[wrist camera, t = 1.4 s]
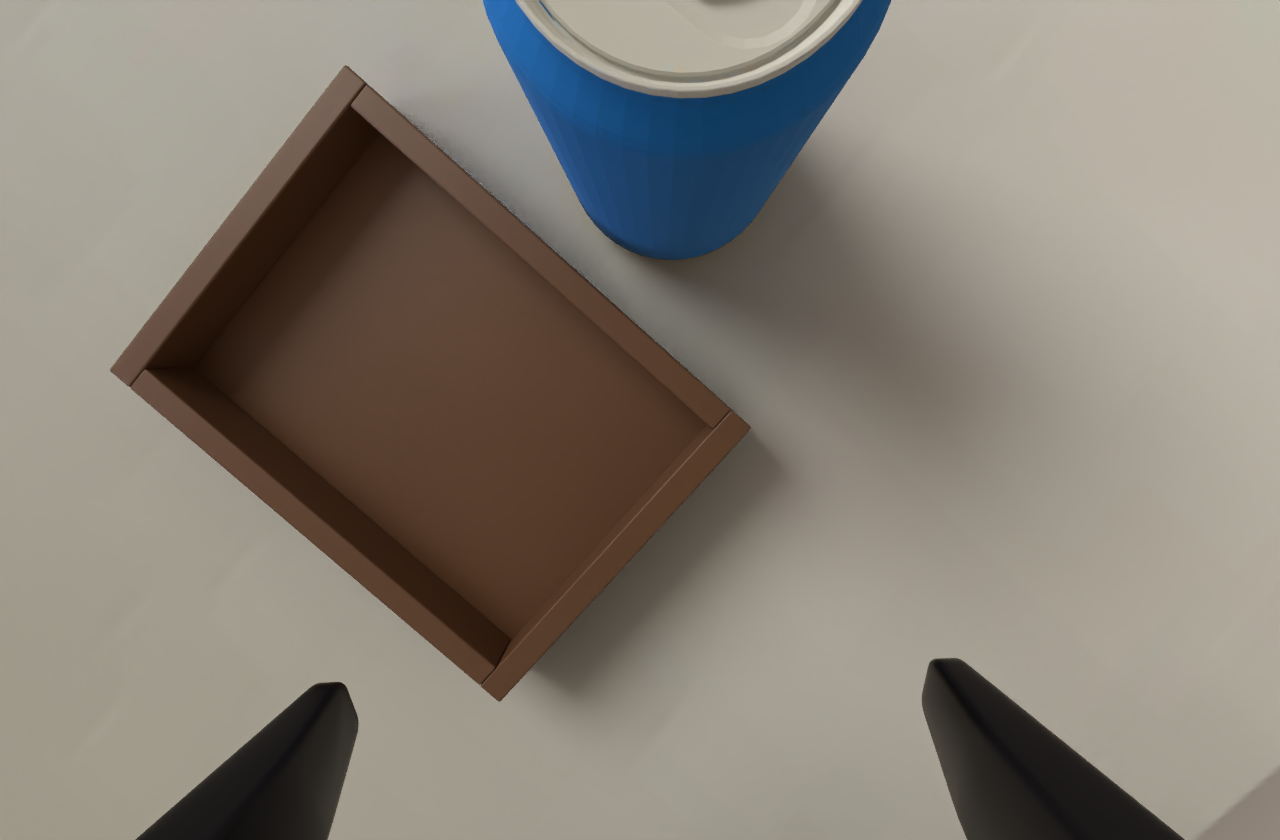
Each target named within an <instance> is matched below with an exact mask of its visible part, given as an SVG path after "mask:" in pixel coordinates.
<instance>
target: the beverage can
mask: <svg viewBox="0 0 1280 840" xmlns="http://www.w3.org/2000/svg"><path fill="white" fill-rule="evenodd" d="M890 2H891V0H483V3H484V6H485V10H486V13H487V16H488V19H489V21H490V23H491V26H492V28H493V30H494V33H495V35H496V37H497V40H498V42H499V44H500V46H501V48H502V50H503V52H504V54H505V56H506V58H507V60H508V62H509V64H510V65H511V67H512V69H513V71H514V73H515V75H516V77H517V79H518V81H519V83H520V85H521V87H522V89H523V91H524V93H525V95H526V97H527V99H528V101H529V103H530V105H531V107H532V109H533V111H534V113H535V115H536V117H537V118H538V120H539V122H540V124H541V126H542V128H543V130H544V132H545V134H546V136H547V138H548V140H549V142H550V144H551V146H552V148H553V150H554V152H555V154H556V156H557V158H558V160H559V162H560V164H561V166H562V168H563V170H564V171H565V173H566V175H567V177H568V179H569V181H570V183H571V185H572V187H573V189H574V191H575V193H576V195H577V197H578V199H579V201H580V203H581V205H582V206H583V208H584V210H585V211H586V213H587V215H588V216H589V217H590V219H591V220H592V221H593V222H594V224H595V225H596V226H597V227H598V228H599V229H600V230H601V231H602V232H603V233H604V234H605V235H606V236H607V237H609V238H610V239H611V240H613V241H614V242H615V243H617V244H619V245H620V246H622V247H624V248H626V249H627V250H630V251H632V252H635V253H637V254H640V255H643V256H647V257H651V258H656V259H665V260H677V259H686V258H693V257H697V256H700V255H703V254H707V253H709V252H711V251H714V250H716V249H718V248H720V247H722V246H723V245H725V244H727V243H728V242H730V241H731V240H733V239H734V238H735V237H736V236H738V235H739V234H740V233H741V232H742V231H743V230H744V229H745V228H746V227H747V226H748V225H749V224H750V223H751V222H752V220H753V219H754V218H755V216H756V215H757V214H758V212H759V211H760V210H761V208H762V207H763V205H764V204H765V202H766V201H767V199H768V198H769V196H770V195H771V193H772V192H773V190H774V189H775V187H776V186H777V184H778V183H779V181H780V180H781V178H782V177H783V176H784V174H785V173H786V171H787V170H788V168H789V167H790V165H791V164H792V162H793V161H794V159H795V158H796V156H797V155H798V153H799V152H800V150H801V149H802V147H803V146H804V144H805V143H806V142H807V140H808V139H809V137H810V136H811V134H812V133H813V131H814V130H815V128H816V127H817V125H818V124H819V122H820V121H821V119H822V118H823V116H824V115H825V113H826V112H827V110H828V109H829V107H830V106H831V105H832V103H833V102H834V100H835V99H836V97H837V96H838V94H839V93H840V91H841V90H842V88H843V87H844V85H845V84H846V82H847V81H848V79H849V78H850V76H851V75H852V73H853V72H854V71H855V69H856V68H857V66H858V65H859V63H860V62H861V60H862V59H863V57H864V56H865V54H866V52H867V50H868V49H869V47H870V45H871V43H872V42H873V40H874V38H875V36H876V35H877V33H878V31H879V29H880V27H881V24H882V22H883V19H884V17H885V15H886V12H887V10H888V7H889V5H890Z"/></svg>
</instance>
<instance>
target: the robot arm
mask: <svg viewBox="0 0 1280 840" xmlns="http://www.w3.org/2000/svg"><path fill="white" fill-rule="evenodd" d="M922 706H923V711H924V715H925V718H926V721H927V724H928V727H929V730H930V733H931V736H932V739H933V742H934V745H935V749H936V752H937V755H938V758H939V761H940V764H941V767H942V770H943V773H944V776H945V779H946V782H947V786H948V789H949V792H950V795H951V798H952V801H953V804H954V807H955V810H956V812H957V815H958V818H959V821H960V823H961V825H962V828H963V830H964V833H965V835H966V838H967V840H1185V839H1183V838H1182V837H1181V836H1180V835H1179V834H1177V833H1176V832H1175V831H1174V830H1172V829H1171V828H1170V827H1169V826H1167V825H1166V824H1165V823H1164V822H1162V821H1161V820H1160V819H1159V818H1157V817H1156V816H1155V815H1154V814H1152V813H1151V812H1150V811H1149V810H1148V809H1146V808H1145V807H1144V806H1143V805H1141V804H1140V803H1139V802H1138V801H1136V800H1135V799H1134V798H1133V797H1131V796H1130V795H1129V794H1128V793H1126V792H1125V791H1124V790H1123V789H1122V788H1120V787H1119V786H1118V785H1117V784H1115V783H1114V782H1113V781H1112V780H1110V779H1109V778H1108V777H1107V776H1105V775H1104V774H1103V773H1102V772H1100V771H1099V770H1098V769H1097V768H1095V767H1094V766H1093V765H1092V764H1091V763H1089V762H1088V761H1087V760H1086V759H1084V758H1083V757H1082V756H1081V755H1079V754H1078V753H1077V752H1076V751H1074V750H1073V749H1072V748H1071V747H1069V746H1068V745H1067V744H1066V743H1064V742H1063V741H1062V740H1061V739H1060V738H1058V737H1057V736H1056V735H1055V734H1053V733H1052V732H1051V731H1050V730H1048V729H1047V728H1046V727H1045V726H1043V725H1042V724H1041V723H1040V722H1038V721H1037V720H1036V719H1035V718H1034V717H1032V716H1031V715H1030V714H1029V713H1027V712H1026V711H1025V710H1024V709H1022V708H1021V707H1020V706H1019V705H1017V704H1016V703H1015V702H1014V701H1012V700H1011V699H1010V698H1009V697H1007V696H1006V695H1005V694H1004V693H1003V692H1001V691H1000V690H999V689H998V688H996V687H995V686H994V685H993V684H991V683H990V682H989V681H988V680H986V679H985V678H984V677H983V676H981V675H980V674H979V673H978V672H976V671H975V670H974V669H973V668H972V667H970V666H969V665H968V664H967V663H965V662H964V661H962V660H960V659H958V658H940V659H933V660H932V661H931V662H930V663H929V666H928V670H927V675H926V679H925V684H924V688H923V693H922ZM357 732H358V717H357V713H356V711H355V708H354V706H353V703H352V700H351V698H350V695H349V692H348V690H347V687H346V686H345V685H344V684H343V683H341V682H329V683H318V684H315V685H313V686H312V687H310V688H309V689H308V690H307V691H306V692H305V693H303V694H302V695H301V696H300V697H299V698H298V699H297V700H295V701H294V702H293V703H292V704H291V705H290V706H288V707H287V708H286V709H285V710H284V711H283V712H282V713H280V714H279V715H278V716H277V717H276V718H275V719H274V720H272V721H271V722H270V723H269V724H268V725H267V726H265V727H264V728H263V729H262V730H261V731H260V732H259V733H257V734H256V735H255V736H254V737H253V738H252V739H251V740H249V741H248V742H247V743H246V744H245V745H244V746H243V747H241V748H240V749H239V750H238V751H237V752H236V753H234V754H233V755H232V756H231V757H230V758H229V759H228V760H226V761H225V762H224V763H223V764H222V765H221V766H220V767H218V768H217V769H216V770H215V771H214V772H213V773H211V774H210V775H209V776H208V777H207V778H206V779H205V780H203V781H202V782H201V783H200V784H199V785H198V786H197V787H195V788H194V789H193V790H192V791H191V792H190V793H188V794H187V795H186V796H185V797H184V798H183V799H182V800H180V801H179V802H178V803H177V804H176V805H175V806H174V807H172V808H171V809H170V810H169V811H168V812H167V813H165V814H164V815H163V816H162V817H161V818H160V819H159V820H157V821H156V822H155V823H154V824H153V825H152V826H151V827H149V828H148V829H147V830H146V831H145V832H144V833H142V834H141V835H140V836H139V837H138V838H137V839H136V840H327V839H328V836H329V833H330V829H331V826H332V823H333V819H334V816H335V812H336V808H337V805H338V801H339V798H340V794H341V790H342V787H343V783H344V780H345V776H346V772H347V769H348V765H349V761H350V758H351V754H352V751H353V747H354V743H355V740H356V736H357Z"/></svg>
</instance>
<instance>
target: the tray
mask: <svg viewBox="0 0 1280 840" xmlns="http://www.w3.org/2000/svg"><path fill="white" fill-rule="evenodd" d="M110 371H111V372H112V373H113V374H114V375H116V376H117V377H118V378H119V379H120V380H121V381H123V382H124V383H125V384H126V385H127V386H129V387H131V389H132V390H133V391H134V392H135V393H137V394H138V395H139V396H140V397H141V398H142V399H144V400H145V401H146V402H147V403H148V404H150V405H151V406H152V407H153V408H154V409H155V410H157V411H158V412H159V413H160V414H161V415H162V416H164V417H165V418H166V419H167V420H168V421H170V422H171V423H172V424H173V425H174V426H175V427H177V428H178V429H179V430H180V431H181V432H183V433H184V434H185V435H186V436H187V437H188V438H190V439H191V440H192V441H193V442H194V443H195V444H197V445H198V446H199V447H200V448H201V449H203V450H204V451H205V452H206V453H207V454H208V455H210V456H211V457H212V458H213V459H214V460H215V461H217V462H218V463H219V464H220V465H221V466H223V467H224V468H225V469H226V470H227V471H228V472H230V473H231V474H232V475H233V476H234V477H235V478H237V479H238V480H239V481H240V482H241V483H243V484H244V485H245V486H246V487H247V488H248V489H250V490H251V491H252V492H253V493H254V494H255V495H257V496H258V497H259V498H260V499H261V500H263V501H264V502H265V503H266V504H267V505H268V506H270V507H271V508H272V509H273V510H274V511H275V512H277V513H278V514H279V515H280V516H281V517H283V518H284V519H285V520H286V521H287V522H288V523H290V524H291V525H292V526H293V527H294V528H295V529H297V530H298V531H299V532H300V533H301V534H303V535H304V536H305V537H306V538H307V539H308V540H310V541H311V542H312V543H313V544H314V545H315V546H317V547H318V548H319V549H320V550H321V551H323V552H324V553H325V554H326V555H327V556H328V557H330V558H331V559H332V560H333V561H334V562H335V563H337V564H338V565H339V566H340V567H341V568H343V569H344V570H345V571H346V572H347V573H348V574H350V575H351V576H352V577H353V578H354V579H355V580H357V581H358V582H359V583H360V584H361V585H363V586H364V587H365V588H366V589H367V590H368V591H370V592H371V593H372V594H373V595H374V596H375V597H377V598H378V599H379V600H380V601H381V602H383V603H384V604H385V605H386V606H387V607H388V608H390V609H391V610H392V611H393V612H394V613H395V614H397V615H398V616H399V617H400V618H401V619H403V620H404V621H405V622H406V623H407V624H408V625H410V626H411V627H412V628H413V629H414V630H416V631H417V632H418V633H419V634H420V635H421V636H423V637H424V638H425V639H426V640H427V641H428V642H430V643H431V644H432V645H433V646H434V647H436V648H437V649H438V650H439V651H440V652H441V653H443V654H444V655H445V656H446V657H447V658H448V659H450V660H451V661H452V662H453V663H454V664H456V665H457V666H458V667H459V668H460V669H461V670H463V671H464V672H465V673H466V674H467V675H468V676H470V677H471V678H472V679H473V680H474V681H476V682H477V683H478V684H479V685H480V684H481V687H482V688H483V689H485V690H486V691H487V692H488V693H489V694H490V695H492V696H493V697H494V698H495V699H496V700H497V701H499V702H500V701H501V700H502V699H503V698H504V697H505V696H506V695H507V693H508V692H509V691H510V690H511V689H512V688H513V687H514V686H515V685H516V684H517V683H518V682H519V680H520V679H521V678H522V677H523V676H524V675H525V674H526V673H527V672H528V671H529V670H530V668H531V667H532V666H533V665H534V664H535V663H536V662H537V661H538V660H539V659H540V658H541V656H542V655H543V654H544V653H545V652H546V651H547V650H548V649H549V648H550V647H551V646H552V645H553V643H554V642H555V641H556V640H557V639H558V638H559V637H560V636H561V635H562V634H563V633H564V631H565V630H566V629H567V628H568V627H569V626H570V625H571V624H572V623H573V622H574V621H575V619H576V618H577V617H578V616H579V615H580V614H581V613H582V612H583V611H584V610H585V609H586V608H587V606H588V605H589V604H590V603H591V602H592V601H593V600H594V599H595V598H596V597H597V596H598V594H599V593H600V592H601V591H602V590H603V589H604V588H605V587H606V586H607V585H608V584H609V582H610V581H611V580H612V579H613V578H614V577H615V576H616V575H617V574H618V573H619V572H620V571H621V569H622V568H623V567H624V566H625V565H626V564H627V563H628V562H629V561H630V560H631V559H632V557H633V556H634V555H635V554H636V553H637V552H638V551H639V550H640V549H641V548H642V547H643V545H644V544H645V543H646V542H647V541H648V540H649V539H650V538H651V537H652V536H653V535H654V534H655V532H656V531H657V530H658V529H659V528H660V527H661V526H662V525H663V524H664V523H665V522H666V520H667V519H668V518H669V517H670V516H671V515H672V514H673V513H674V512H675V511H676V510H677V508H678V507H679V506H680V505H681V504H682V503H683V502H684V501H685V500H686V499H687V498H688V496H689V495H690V494H691V493H692V492H693V491H694V490H695V489H696V488H697V487H698V486H699V485H700V483H701V482H702V481H703V480H704V479H705V478H706V477H707V476H708V475H709V474H710V473H711V471H712V470H713V469H714V468H715V467H716V466H717V465H718V464H719V463H720V462H721V461H722V459H723V458H724V457H725V456H726V455H727V454H728V453H729V452H730V451H731V450H732V449H733V448H734V446H735V445H736V444H737V443H738V442H739V441H740V440H741V439H742V438H743V437H744V436H745V434H746V433H747V432H748V431H749V430H750V429H751V427H750V426H749V425H748V424H747V423H746V422H745V421H744V420H743V419H742V418H740V417H739V416H738V415H737V414H736V413H735V412H734V411H733V410H731V409H730V408H729V407H728V406H727V405H726V404H725V403H724V402H723V401H721V400H720V399H719V398H718V397H717V396H716V395H715V394H714V393H712V392H711V391H710V390H709V389H708V388H707V387H706V386H705V385H704V384H702V383H701V382H700V381H699V380H698V379H697V378H696V377H695V376H693V375H692V374H691V373H690V372H689V371H688V370H687V369H686V368H685V367H683V366H682V365H681V364H680V363H679V362H678V361H677V360H676V359H674V358H673V357H672V356H671V355H670V354H669V353H668V352H667V351H665V350H664V349H663V348H662V347H661V346H660V345H659V344H658V343H657V342H655V341H654V340H653V339H652V338H651V337H650V336H649V335H648V334H646V333H645V332H644V331H643V330H642V329H641V328H640V327H639V326H638V325H636V324H635V323H634V322H633V321H632V320H631V319H630V318H629V317H627V316H626V315H625V314H624V313H623V312H622V311H621V310H620V309H619V308H617V307H616V306H615V305H614V304H613V303H612V302H611V301H610V300H608V299H607V298H606V297H605V296H604V295H603V294H602V293H601V292H600V291H598V290H597V289H596V288H595V287H594V286H593V285H592V284H591V283H589V282H588V281H587V280H586V279H585V278H584V277H583V276H582V275H581V274H579V273H578V272H577V271H576V270H575V269H574V268H573V267H572V266H570V265H569V264H568V263H567V262H566V261H565V260H564V259H563V258H562V257H560V256H559V255H558V254H557V253H556V252H555V251H554V250H553V249H551V248H550V247H549V246H548V245H547V244H546V243H545V242H544V241H543V240H541V239H540V238H539V237H538V236H537V235H536V234H535V233H534V232H532V231H531V230H530V229H529V228H528V227H527V226H526V225H525V224H524V223H522V222H521V221H520V220H519V219H518V218H517V217H516V216H515V215H513V214H512V213H511V212H510V211H509V210H508V209H507V208H506V207H505V206H503V205H502V204H501V203H500V202H499V201H498V200H497V199H496V198H494V197H493V196H492V195H491V194H490V193H489V192H488V191H487V190H486V189H484V188H483V187H482V186H481V185H480V184H479V183H478V182H477V181H475V180H474V179H473V178H472V177H471V176H470V175H469V174H468V173H467V172H465V171H464V170H463V169H462V168H461V167H460V166H459V165H458V164H456V163H455V162H454V161H453V160H452V159H451V158H450V157H449V156H447V155H446V154H445V153H444V152H443V151H442V150H441V149H440V148H439V147H437V146H436V145H435V144H434V143H433V142H432V141H431V140H430V139H428V138H427V137H426V136H425V135H424V134H423V133H422V132H421V131H420V130H418V129H417V128H416V127H415V126H414V125H413V124H412V123H411V122H409V121H408V120H407V119H406V118H405V117H404V116H403V115H402V114H401V113H399V112H398V111H397V110H396V109H395V108H394V107H393V106H392V105H390V104H389V103H388V102H387V101H386V100H385V99H384V98H383V97H382V96H380V95H379V94H378V93H377V92H376V91H375V90H374V89H373V88H371V87H370V86H369V85H368V84H367V83H366V82H365V81H364V80H363V79H361V78H360V77H359V76H358V75H357V74H356V73H355V72H354V71H352V70H351V69H350V68H349V67H348V66H344V67H343V68H342V70H341V71H340V72H339V73H338V75H337V76H336V77H335V79H334V80H333V81H332V82H331V84H330V85H329V86H328V88H327V89H326V90H325V92H324V93H323V94H322V95H321V97H320V98H319V99H318V101H317V102H316V103H315V105H314V106H313V107H312V108H311V110H310V111H309V112H308V114H307V115H306V116H305V117H304V119H303V120H302V121H301V123H300V124H299V125H298V127H297V128H296V129H295V130H294V132H293V133H292V134H291V136H290V137H289V138H288V140H287V141H286V142H285V143H284V145H283V146H282V147H281V149H280V150H279V151H278V152H277V154H276V155H275V156H274V158H273V159H272V160H271V162H270V163H269V164H268V165H267V167H266V168H265V169H264V171H263V172H262V173H261V175H260V176H259V177H258V178H257V180H256V181H255V182H254V184H253V185H252V186H251V187H250V189H249V190H248V191H247V193H246V194H245V195H244V197H243V198H242V199H241V200H240V202H239V203H238V204H237V206H236V207H235V208H234V210H233V211H232V212H231V213H230V215H229V216H228V217H227V219H226V220H225V221H224V222H223V224H222V225H221V226H220V228H219V229H218V230H217V232H216V233H215V234H214V235H213V237H212V238H211V239H210V241H209V242H208V243H207V245H206V246H205V247H204V248H203V250H202V251H201V252H200V254H199V255H198V256H197V257H196V259H195V260H194V261H193V263H192V264H191V265H190V267H189V268H188V269H187V270H186V272H185V273H184V274H183V276H182V277H181V278H180V280H179V281H178V282H177V283H176V285H175V286H174V287H173V289H172V290H171V291H170V292H169V294H168V295H167V296H166V298H165V299H164V300H163V302H162V303H161V304H160V305H159V307H158V308H157V309H156V311H155V312H154V313H153V315H152V316H151V317H150V318H149V320H148V321H147V322H146V324H145V325H144V326H143V327H142V329H141V330H140V331H139V333H138V334H137V335H136V337H135V338H134V339H133V340H132V342H131V343H130V344H129V346H128V347H127V348H126V350H125V351H124V352H123V353H122V355H121V356H120V357H119V359H118V360H117V361H116V362H115V364H114V365H113V366H112V368H111V369H110Z"/></svg>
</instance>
